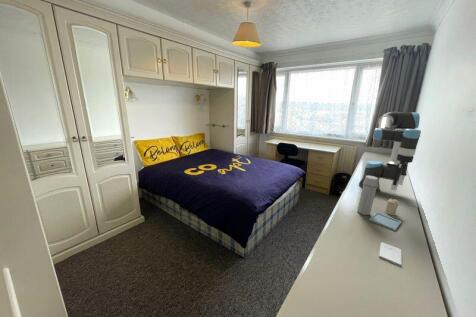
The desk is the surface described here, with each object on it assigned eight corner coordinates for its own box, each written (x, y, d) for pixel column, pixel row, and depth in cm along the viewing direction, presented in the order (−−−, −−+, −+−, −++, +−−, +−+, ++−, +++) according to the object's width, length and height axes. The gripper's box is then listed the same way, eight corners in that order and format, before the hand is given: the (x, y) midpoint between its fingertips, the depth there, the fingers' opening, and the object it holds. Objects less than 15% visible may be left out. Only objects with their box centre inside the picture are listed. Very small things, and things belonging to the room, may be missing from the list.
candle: (383, 211, 129) (386, 198, 126) (388, 210, 131) (392, 197, 128) (391, 216, 124) (395, 202, 121) (397, 214, 126) (401, 200, 123)
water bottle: (356, 208, 132) (364, 174, 125) (370, 212, 128) (379, 176, 121) (356, 214, 124) (364, 178, 117) (371, 218, 120) (380, 181, 113)
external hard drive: (378, 258, 90) (380, 244, 99) (400, 267, 85) (400, 252, 94) (379, 255, 89) (381, 241, 98) (401, 265, 84) (401, 249, 94)
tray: (376, 213, 126) (376, 211, 126) (400, 223, 117) (401, 221, 116) (368, 220, 118) (369, 218, 118) (394, 231, 109) (395, 229, 108)
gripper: (403, 150, 126) (394, 180, 132) (391, 156, 111) (383, 189, 117) (418, 153, 121) (408, 184, 127) (408, 159, 106) (398, 194, 112)
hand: (396, 187), depth 122 cm, fingers open, 13 cm apart
